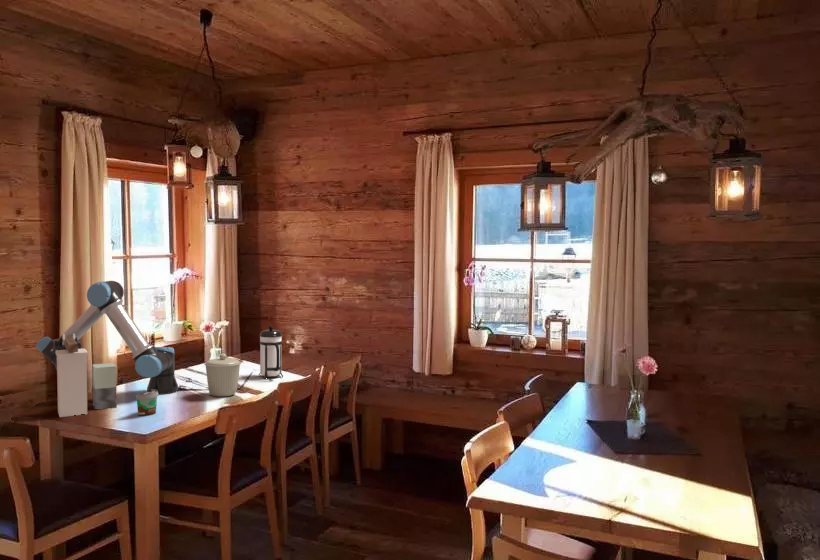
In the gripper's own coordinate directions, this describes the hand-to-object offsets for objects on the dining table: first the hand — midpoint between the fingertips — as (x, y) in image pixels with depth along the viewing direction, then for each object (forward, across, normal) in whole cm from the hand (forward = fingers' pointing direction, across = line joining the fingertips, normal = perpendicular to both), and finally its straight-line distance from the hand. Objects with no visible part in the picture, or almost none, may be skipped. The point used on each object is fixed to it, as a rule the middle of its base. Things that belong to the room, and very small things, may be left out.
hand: (69, 336), depth 306 cm
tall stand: (-9, 0, -34) cm, 35 cm away
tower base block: (-14, -14, -31) cm, 37 cm away
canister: (-12, -69, -32) cm, 77 cm away
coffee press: (-38, -106, -17) cm, 114 cm away
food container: (+7, -30, -43) cm, 53 cm away
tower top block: (-9, -14, -22) cm, 28 cm away
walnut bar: (+2, 0, -7) cm, 7 cm away
